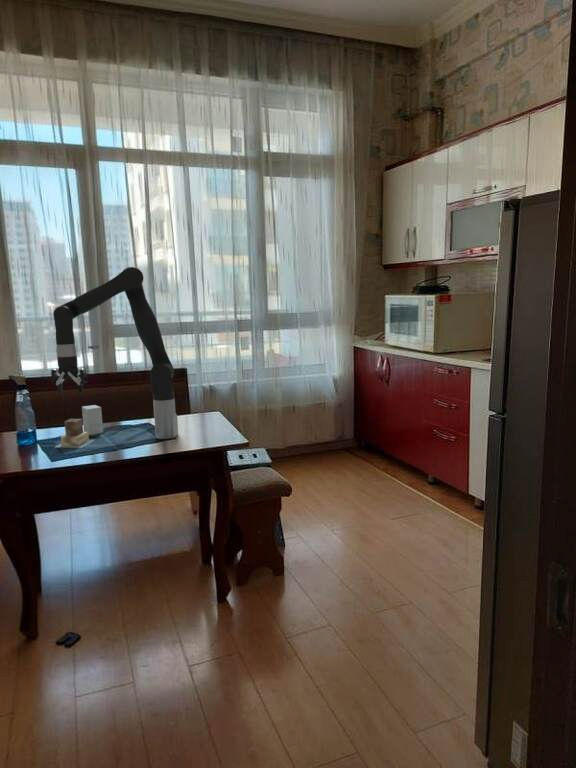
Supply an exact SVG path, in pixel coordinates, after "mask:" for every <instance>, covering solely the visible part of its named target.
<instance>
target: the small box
mask: <svg viewBox="0 0 576 768" xmlns="http://www.w3.org/2000/svg"><path fill="white" fill-rule="evenodd" d="M81 412H82V413H81V414H82V425H83V432H88V434H89V436H92V435H99V434H102V433H104V425H103V413H102V407H101V406H98V405H96V404H93V405H92V404H91V405H84V406H81Z"/></svg>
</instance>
